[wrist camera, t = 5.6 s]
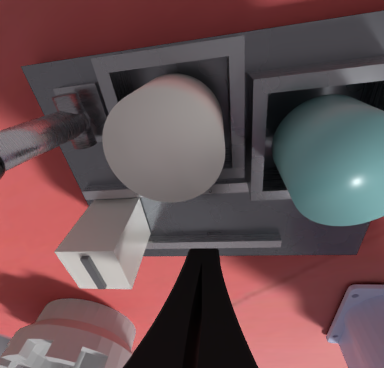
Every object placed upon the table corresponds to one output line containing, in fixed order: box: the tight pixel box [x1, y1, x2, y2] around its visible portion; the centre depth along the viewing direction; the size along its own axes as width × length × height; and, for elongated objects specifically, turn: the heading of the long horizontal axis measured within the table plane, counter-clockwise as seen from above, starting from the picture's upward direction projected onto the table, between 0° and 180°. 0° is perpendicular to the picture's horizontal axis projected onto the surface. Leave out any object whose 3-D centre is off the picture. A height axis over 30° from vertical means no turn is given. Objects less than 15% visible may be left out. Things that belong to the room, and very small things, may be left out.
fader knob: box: [55, 198, 151, 289], centre depth 12 cm, size 3×3×4 cm
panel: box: [21, 11, 384, 256], centre depth 12 cm, size 13×17×3 cm
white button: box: [102, 73, 225, 203], centre depth 8 cm, size 4×4×3 cm
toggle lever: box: [0, 92, 97, 179], centre depth 8 cm, size 2×2×5 cm
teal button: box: [272, 94, 384, 226], centre depth 7 cm, size 4×4×3 cm
